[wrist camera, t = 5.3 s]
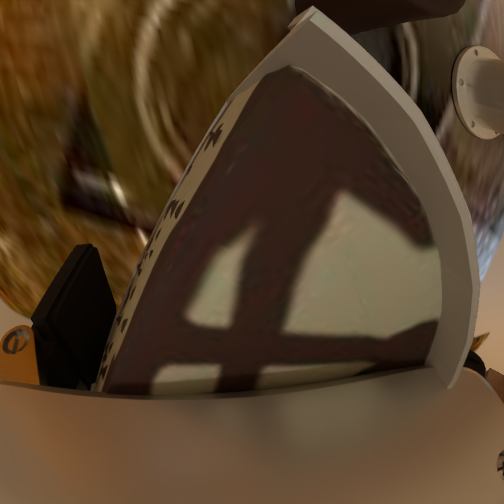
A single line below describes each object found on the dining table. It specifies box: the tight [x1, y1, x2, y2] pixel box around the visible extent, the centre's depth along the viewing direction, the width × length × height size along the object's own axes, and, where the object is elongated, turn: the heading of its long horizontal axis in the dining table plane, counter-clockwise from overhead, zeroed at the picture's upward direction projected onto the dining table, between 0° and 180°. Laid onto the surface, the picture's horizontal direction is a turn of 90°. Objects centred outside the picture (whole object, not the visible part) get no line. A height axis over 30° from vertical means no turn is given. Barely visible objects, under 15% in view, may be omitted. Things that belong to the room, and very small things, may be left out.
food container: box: [90, 6, 480, 395], centre depth 9 cm, size 12×6×10 cm, turn 147°
